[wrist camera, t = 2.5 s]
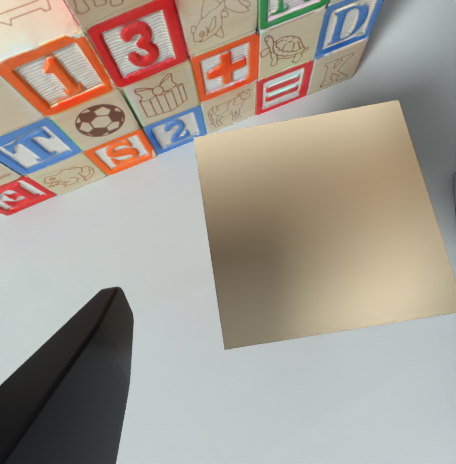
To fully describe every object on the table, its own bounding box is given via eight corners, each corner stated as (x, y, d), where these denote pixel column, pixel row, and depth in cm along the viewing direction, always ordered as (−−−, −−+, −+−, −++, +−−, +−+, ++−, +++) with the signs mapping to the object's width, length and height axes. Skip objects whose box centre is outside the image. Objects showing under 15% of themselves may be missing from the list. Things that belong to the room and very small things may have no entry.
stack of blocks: (8, 221, 20) (-365, 77, 8) (-16, 129, 21) (-358, -106, 10) (356, 77, 20) (498, -267, 8) (308, -3, 22) (371, -389, 10)
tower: (336, 315, 17) (465, 310, 7) (244, 330, 17) (224, 349, 7) (316, 227, 18) (398, 99, 8) (230, 241, 18) (193, 137, 8)
